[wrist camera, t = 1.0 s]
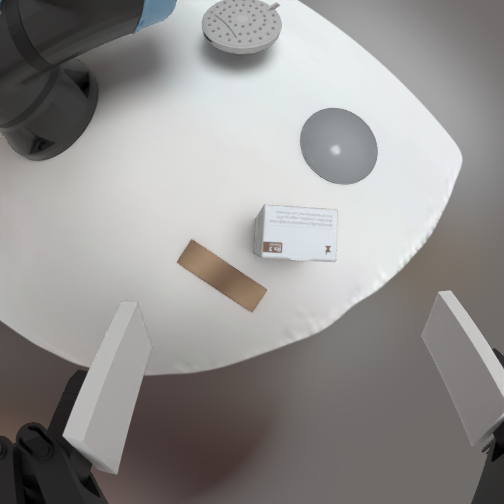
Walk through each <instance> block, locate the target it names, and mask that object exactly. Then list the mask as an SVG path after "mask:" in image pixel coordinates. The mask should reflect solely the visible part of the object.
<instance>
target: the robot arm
mask: <svg viewBox="0 0 504 504" xmlns="http://www.w3.org/2000/svg"><path fill="white" fill-rule="evenodd" d="M176 1H177V0H0V131H1V133H2V134H3V136H4V137H5V139H6V140H7V142H8V143H9V145H10V146H11V147H12V149H13V150H14V151H16V152H17V153H18V154H20V155H22V156H24V157H26V158H28V159H31V160H45V159H48V158H51V157H54V156H56V155H58V154H59V153H61V152H63V151H64V150H65V149H67V148H68V147H69V146H70V145H71V144H73V143H74V142H75V141H76V139H77V138H78V137H79V136H80V135H81V134H82V132H83V131H84V130H85V128H86V127H87V125H88V123H89V122H90V120H91V118H92V116H93V113H94V111H95V108H96V104H97V99H98V85H97V81H96V79H95V77H94V75H93V74H92V73H91V71H90V70H89V69H88V68H87V66H85V65H84V64H83V63H82V62H80V61H78V60H75V59H73V58H74V57H76V56H78V55H80V54H83V53H85V52H87V51H89V50H91V49H93V48H96V47H98V46H100V45H103V44H105V43H107V42H110V41H112V40H115V39H117V38H120V37H122V36H125V35H128V34H134V33H136V32H138V31H139V30H140V29H142V28H144V27H147V26H150V25H152V24H155V23H158V22H161V21H163V20H164V19H166V18H167V17H168V16H169V15H170V14H171V13H172V12H173V10H174V8H175V5H176ZM421 337H422V339H423V340H424V342H425V344H426V346H427V348H428V350H429V352H430V354H431V356H432V358H433V360H434V362H435V364H436V366H437V368H438V370H439V372H440V374H441V376H442V378H443V380H444V383H445V385H446V387H447V389H448V391H449V394H450V396H451V398H452V400H453V402H454V405H455V407H456V409H457V412H458V414H459V416H460V419H461V421H462V423H463V426H464V428H465V431H466V433H467V436H468V438H469V441H470V443H471V446H473V445H475V444H478V443H480V442H483V441H485V440H486V439H487V438H488V437H489V436H490V435H491V434H492V433H493V434H494V438H493V440H491V441H490V442H489V443H488V444H487V445H486V446H485V447H484V448H483V450H482V452H484V451H486V450H487V449H488V448H489V447H490V448H489V451H488V452H487V453H486V454H488V455H487V459H486V462H485V466H484V469H483V472H482V475H481V478H480V481H479V484H478V487H477V490H476V492H475V495H474V498H473V500H472V503H471V504H504V356H503V355H502V354H501V353H500V352H499V351H497V350H496V349H495V348H494V349H491V348H490V346H489V345H488V343H487V342H486V340H485V338H484V337H483V335H482V334H481V332H480V331H479V329H478V328H477V327H476V325H475V324H474V322H473V321H472V319H471V318H470V316H469V315H468V314H467V312H466V311H465V309H464V308H463V307H462V305H461V304H460V303H459V301H458V300H457V299H456V297H455V296H454V295H453V293H452V292H451V291H442V292H438V293H437V296H436V299H435V302H434V304H433V307H432V310H431V313H430V315H429V318H428V320H427V323H426V325H425V328H424V330H423V333H422V335H421ZM151 350H152V345H151V342H150V339H149V336H148V333H147V330H146V326H145V323H144V320H143V317H142V314H141V310H140V307H139V303H138V302H135V301H122V302H121V304H120V306H119V308H118V310H117V312H116V314H115V316H114V318H113V320H112V322H111V324H110V326H109V328H108V330H107V332H106V334H105V336H104V338H103V340H102V343H101V345H100V347H99V349H98V351H97V353H96V355H95V358H94V360H93V362H92V364H91V367H90V369H89V371H83V370H78V371H77V372H76V373H75V374H74V375H73V376H72V377H71V378H70V379H69V381H68V383H67V385H66V388H65V392H63V394H62V397H61V401H59V404H58V406H57V408H56V411H55V413H54V415H53V418H52V420H51V423H50V425H49V428H48V430H46V429H45V428H44V427H43V426H42V425H41V424H39V423H35V422H32V423H27V424H25V425H24V426H22V427H21V428H20V430H19V431H18V433H17V436H16V443H12V442H11V441H10V440H9V439H8V438H6V437H5V436H0V504H108V502H107V500H106V499H105V497H104V495H103V493H102V491H101V489H100V488H99V486H98V484H97V482H96V480H95V478H94V476H93V474H92V473H91V472H90V470H91V466H92V465H94V467H96V468H97V469H98V470H100V471H104V472H108V473H112V474H117V473H118V468H119V464H120V460H121V456H122V452H123V448H124V444H125V440H126V436H127V432H128V429H129V424H130V421H131V417H132V414H133V410H134V407H135V403H136V399H137V396H138V392H139V389H140V385H141V382H142V379H143V376H144V372H145V369H146V366H147V362H148V359H149V356H150V353H151Z"/></svg>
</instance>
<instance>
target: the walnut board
mask: <svg viewBox="0 0 504 504" xmlns="http://www.w3.org/2000/svg"><path fill="white" fill-rule="evenodd" d="M177 263H179V264H180V265H182V266H183V267H184V268H186V269H187V270H189V271H190V272H192V273H193V274H195V275H196V276H198V277H199V278H201V279H202V280H204V281H205V282H207V283H208V284H210V285H211V286H213V287H214V288H216V289H217V290H219V291H220V292H222V293H223V294H225V295H226V296H228V297H229V298H231V299H232V300H234V301H235V302H237V303H238V304H240V305H242V306H243V307H245V308H246V309H248V310H249V311H251V312H253V311H254V309H255V308H256V306H257V305H258V303H259V302H260V300H261V299H262V297H263V296H264V294H265V293H266V291H267V289H265V288H264V287H262V286H261V285H259V284H258V283H256V282H255V281H253V280H252V279H250V278H249V277H247V276H246V275H244V274H243V273H241V272H240V271H238V270H237V269H235V268H234V267H232V266H231V265H229V264H228V263H226V262H225V261H223V260H222V259H220V258H219V257H217V256H216V255H214V254H213V253H211V252H210V251H208V250H207V249H205V248H204V247H202V246H201V245H200V244H198V243H197V242H195V241H194V240H191V241H190V243H189V244H188V246H187V247H186V249H185V250H184V252H183V253H182V255H181V257H180V258H179V260H178V261H177Z"/></svg>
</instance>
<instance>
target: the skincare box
mask: <svg viewBox="0 0 504 504" xmlns="http://www.w3.org/2000/svg"><path fill="white" fill-rule="evenodd" d="M337 226H338V211H337V210H335V209H321V208H307V207H293V206H275V205H264V206H263V208H262V209H261V211H260V212H259V214H258V216H257V217H256V225H255V241H254V254H256V255H258V256H259V257H261V258H266V259H285V260H295V261H323V262H335V261H336V253H337Z"/></svg>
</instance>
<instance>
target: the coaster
mask: <svg viewBox="0 0 504 504" xmlns="http://www.w3.org/2000/svg"><path fill="white" fill-rule="evenodd" d="M301 149H302V152H303V155H304V157H305V160H306V161H307V163H308V165H309V166H310V167H311V168H312V169H313V170H314V171H315V172H316V173H317V174H318V175H319V176H321V177H322V178H324V179H326V180H328V181H330V182H333V183H337V184H352V183H355V182H358V181H360V180H362V179H364V178H365V177H366V176H368V175H369V174H370V172H371V171H372V170H373V168H374V166H375V164H376V161H377V154H378V150H377V143H376V140H375V137H374V135H373V133H372V131H371V129H370V128H369V126H368V125H367V124H366V123H365V122H364V121H363V120H362V119H361V118H360V117H358V116H357V115H355V114H354V113H352V112H350V111H347V110H344V109H340V108H327V109H323V110H320V111H318V112H316V113H315V114H313V115H312V116H311V117H310V118H309V119H308V120H307V122H306V124H305V125H304V127H303V130H302V133H301Z"/></svg>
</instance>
